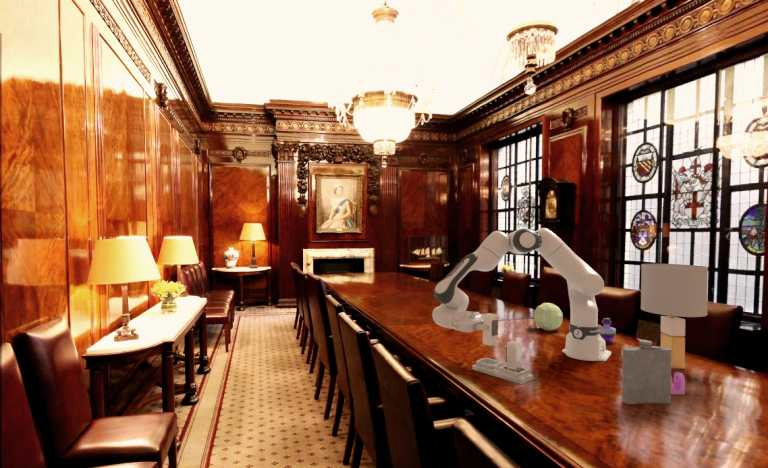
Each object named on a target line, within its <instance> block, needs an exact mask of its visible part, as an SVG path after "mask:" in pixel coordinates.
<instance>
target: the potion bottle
mask: <svg viewBox="0 0 768 468" xmlns="http://www.w3.org/2000/svg"><path fill="white" fill-rule="evenodd" d="M612 322H613V321H612V320H611V318H609V317H604V318H603V319H602V320H601V324H603V326H602V325H601V329H600V330H599V332H600V333H599V335H600V336H601V337H602V338H603V339H604V340H605V343H606V344H613V342H614V339H615V338H616V337H617V336H616V335H617V333H616V332H617V329H616V328H615V327H612V326H611V325H612Z"/></svg>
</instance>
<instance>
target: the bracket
mask: <svg viewBox="0 0 768 468" xmlns="http://www.w3.org/2000/svg"><path fill="white" fill-rule="evenodd" d="M685 391H686V378H685V374H684V373H682V372H679V371H677V372H674V373H673V377H672V375H671V395H686V393H685Z"/></svg>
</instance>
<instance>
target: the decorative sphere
mask: <svg viewBox="0 0 768 468" xmlns="http://www.w3.org/2000/svg"><path fill="white" fill-rule="evenodd" d="M563 317H564V315H563V312H562V310H561V309H560V307H559V306H558V305H556V304H554V303H551V302H543V303H541V304H540V305H538V306H537V307H536V309H535V310H534V313H533V320H534V322H535V324H536V326H537V327H538V328H540V329H542V330H544V331H546V332H549V331H550V332H552V331H555V330H557V329H558V328H560V327H561V326H562V324H563Z"/></svg>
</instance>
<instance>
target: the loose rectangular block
mask: <svg viewBox="0 0 768 468" xmlns="http://www.w3.org/2000/svg"><path fill="white" fill-rule="evenodd" d="M482 314H483V325H488V326H489V330H482V345H486V346H489V347H492V346H495V345H498V334H499V328H498V327H499V319H498V314H496V313H490V312H488V313H482Z"/></svg>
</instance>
